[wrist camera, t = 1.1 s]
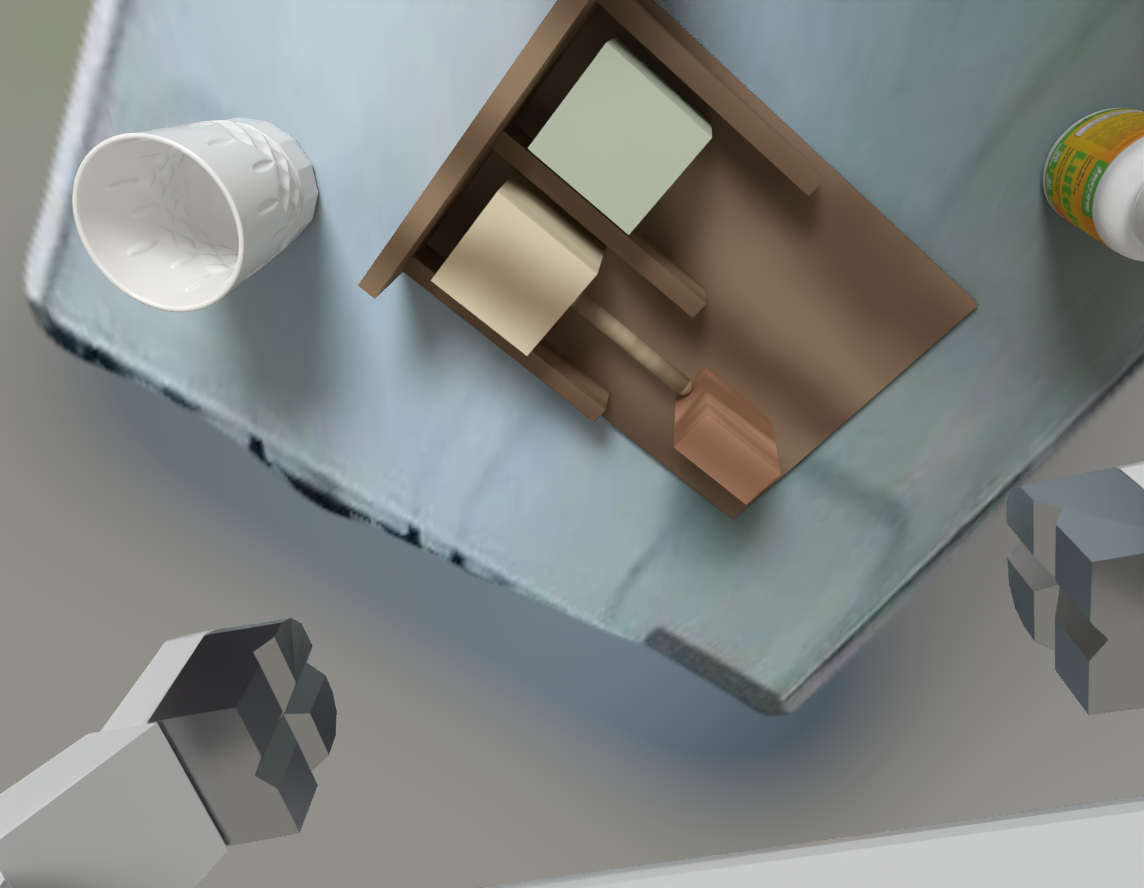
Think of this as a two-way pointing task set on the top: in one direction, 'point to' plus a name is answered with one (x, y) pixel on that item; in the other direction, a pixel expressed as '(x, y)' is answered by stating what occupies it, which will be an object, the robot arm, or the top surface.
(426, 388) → the top surface
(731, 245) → the walnut rack
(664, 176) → the sage block
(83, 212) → the white cup
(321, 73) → the top surface
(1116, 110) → the supplement bottle
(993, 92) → the top surface
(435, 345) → the top surface
